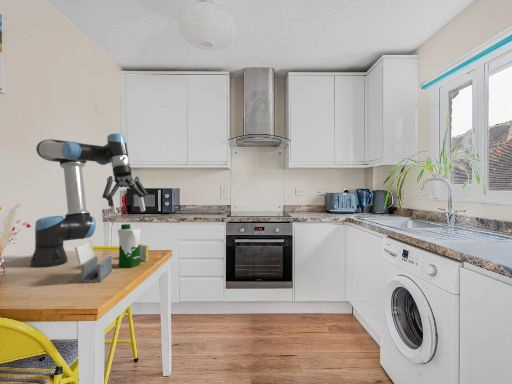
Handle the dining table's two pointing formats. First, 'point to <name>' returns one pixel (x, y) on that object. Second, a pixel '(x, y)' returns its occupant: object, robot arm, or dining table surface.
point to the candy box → (144, 252)
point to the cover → (84, 252)
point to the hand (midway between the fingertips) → (129, 212)
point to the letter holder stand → (95, 270)
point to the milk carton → (129, 246)
